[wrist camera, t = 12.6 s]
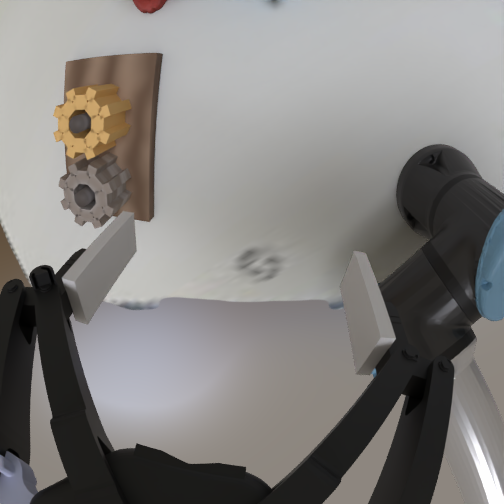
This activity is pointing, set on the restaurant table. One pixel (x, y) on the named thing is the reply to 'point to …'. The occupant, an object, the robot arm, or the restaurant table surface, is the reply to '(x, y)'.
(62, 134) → the ochre gear
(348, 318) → the robot arm
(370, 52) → the restaurant table surface
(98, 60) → the gear board
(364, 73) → the restaurant table surface
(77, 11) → the restaurant table surface
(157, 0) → the stacking bear
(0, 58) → the restaurant table surface
